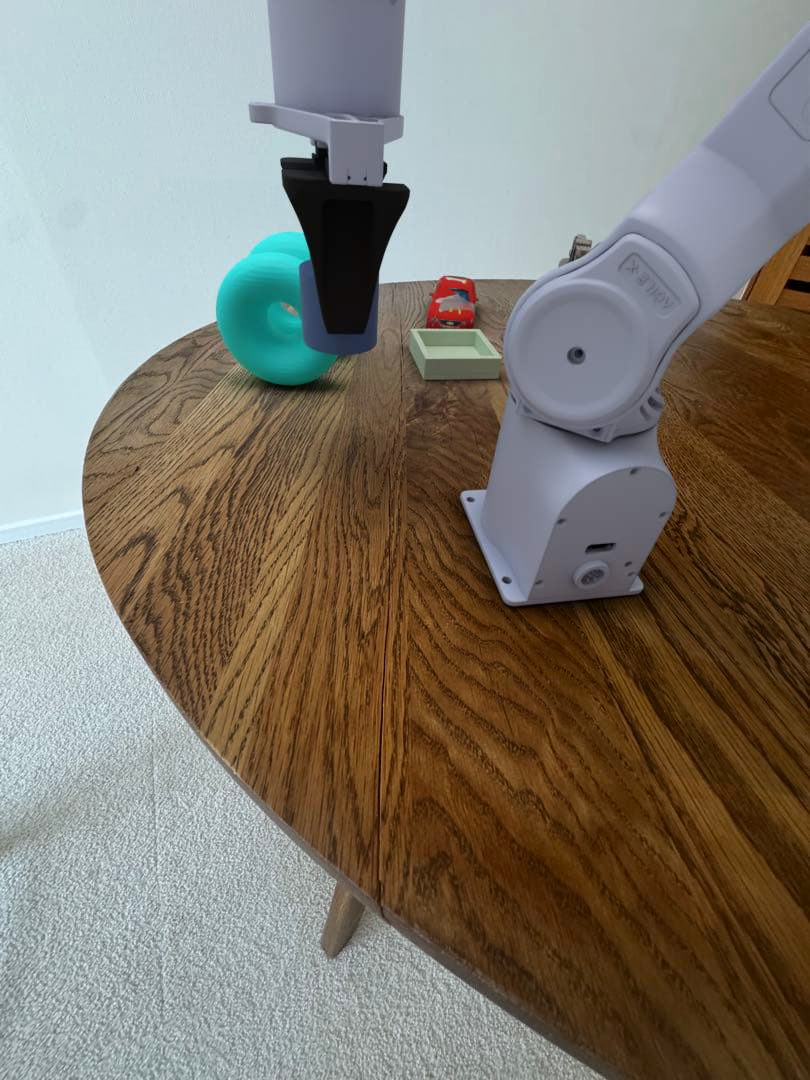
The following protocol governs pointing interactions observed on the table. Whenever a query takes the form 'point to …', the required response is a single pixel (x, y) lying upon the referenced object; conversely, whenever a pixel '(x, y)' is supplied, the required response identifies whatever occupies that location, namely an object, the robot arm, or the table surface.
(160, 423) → the table surface
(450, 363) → the tray
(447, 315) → the race car
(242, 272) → the turquoise spool
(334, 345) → the cylinder
